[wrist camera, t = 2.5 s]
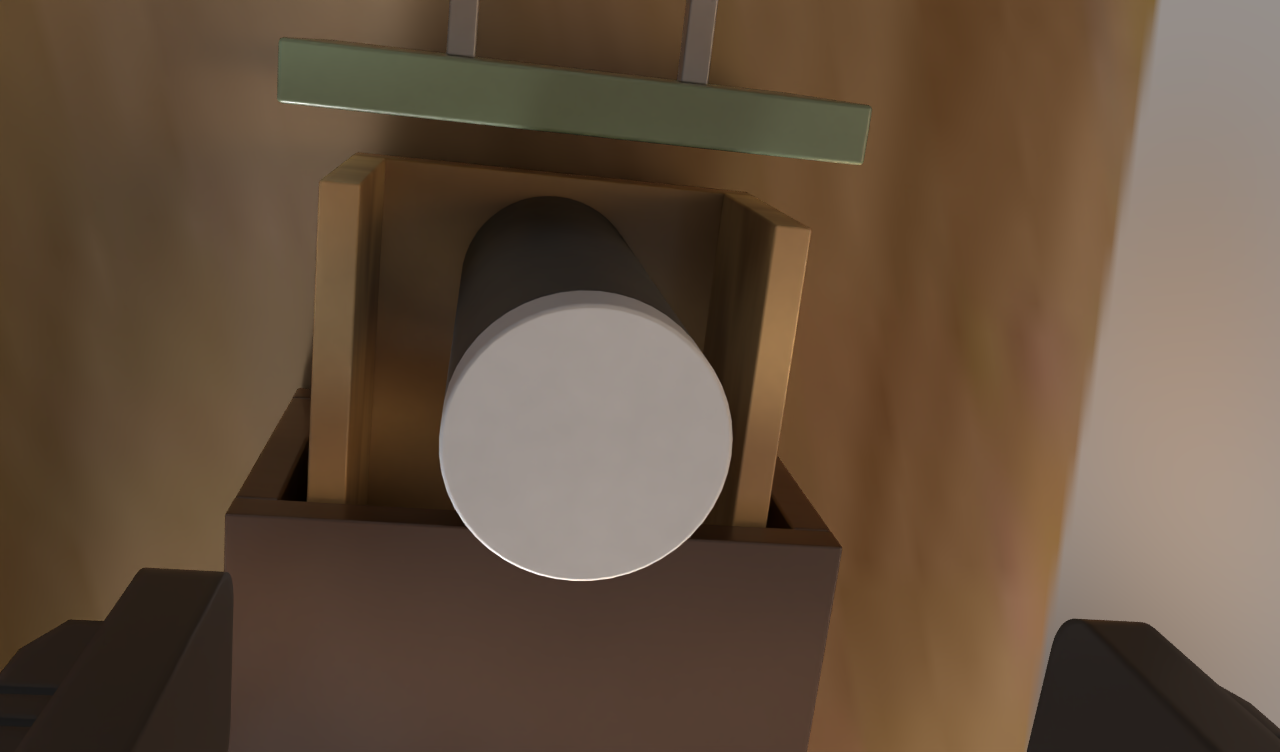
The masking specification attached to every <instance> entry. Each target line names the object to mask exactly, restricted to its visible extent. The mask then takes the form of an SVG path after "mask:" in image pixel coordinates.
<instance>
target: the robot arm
mask: <svg viewBox="0 0 1280 752" xmlns="http://www.w3.org/2000/svg"><path fill="white" fill-rule="evenodd" d="M233 597H234V595H233V582H232V578H231V575H230V573H229V572H217V571H198V570H179V569H160V568H142V569H140V570H139V571H138V573H137V574H136V575H135V577H134V578H133V580H132V581H131V583H130V584H129V585H128V587H127V588H126V590H125V591H124V593H123V594H122V596H121V597H120V599H119V600H118V601H117V603H116V604H115V606H114V607H113V609H112V610H111V612H110V613H109V615H108V616H107V617H106V619H105V620H104V621H89V620H68V621H66V622H65V623H63V624H61V625H60V626H58V627H56V628H54V629H53V630H51V631H49V632H48V633H46V634H44V635H43V636H41V637H39V638H37V639H36V640H34V641H32V642H31V643H29V644H27V645H26V646H24V647H22V648H20V649H19V650H18V651H17V653H16V654H15V655H14V657H13V658H12V659H11V660H10V662H9V663H8V664H7V665H6V667H5V668H4V669H3V670H2V672H1V673H0V752H228V747H229V738H230V721H231V682H232V642H233ZM1027 752H1280V729H1279V728H1278V727H1277V726H1276V725H1275V724H1274V723H1272V722H1271V721H1270V720H1269V719H1268V718H1266V716H1264V715H1263V714H1262V713H1261V712H1260V711H1259V710H1257V709H1256V708H1255V707H1254V706H1253V705H1252V704H1251V703H1249V702H1247V701H1245V700H1244V699H1242V698H1240V697H1238V696H1237V695H1235V694H1233V693H1231V692H1230V691H1228V690H1226V689H1224V688H1223V687H1221V686H1219V685H1218V684H1217V683H1216V682H1214V681H1213V680H1212V679H1211V678H1210V677H1209V676H1208V675H1207V674H1205V673H1204V672H1203V671H1202V670H1201V669H1200V668H1199V667H1197V666H1196V665H1195V664H1194V663H1193V662H1192V661H1191V660H1190V659H1188V658H1187V657H1186V656H1185V655H1184V654H1183V653H1182V652H1181V651H1179V650H1178V649H1177V648H1176V647H1175V646H1174V645H1173V644H1171V643H1170V642H1169V641H1168V640H1167V639H1166V638H1165V637H1164V636H1162V635H1161V634H1160V633H1159V632H1158V631H1157V630H1156V629H1155V628H1153V627H1152V626H1150V625H1148V624H1146V623H1143V622H1127V621H1107V620H1106V621H1105V620H1088V619H1070V620H1068V621H1066V622H1065V623H1064V624H1063V625H1062V626H1061V627H1060V628H1059V630H1058V632H1057V634H1056V636H1055V638H1054V641H1053V644H1052V648H1051V652H1050V656H1049V661H1048V665H1047V669H1046V673H1045V677H1044V682H1043V686H1042V690H1041V694H1040V698H1039V703H1038V707H1037V711H1036V715H1035V719H1034V724H1033V728H1032V732H1031V736H1030V740H1029V745H1028V749H1027Z"/></svg>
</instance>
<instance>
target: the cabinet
mask: <svg viewBox="0 0 1280 752" xmlns="http://www.w3.org/2000/svg"><path fill="white" fill-rule="evenodd" d="M310 406H311V389H305V388H299V389H297V391H296V393H295V395H294V396H293V398H292V400H291V402H290V404H289V405H288V407H287V409H286V411H285V412H284V414H283V416H282V418H281V419H280V421H279V423H278V425H277V426H276V428H275V430H274V432H273V433H272V435H271V437H270V439H269V440H268V442H267V444H266V446H265V447H264V449H263V451H262V453H261V454H260V456H259V458H258V460H257V461H256V463H255V465H254V467H253V468H252V470H251V472H250V474H249V475H248V477H247V479H246V481H245V482H244V484H243V486H242V488H241V489H240V491H239V493H238V495H237V496H236V498H235V499H234V501H233V502H232V504H231V506H230V507H229V509H228V511H227V513H226V515H225V551H224V572H229V573H230V575H231V578H232V582H233V595H234V597H233V642H232V682H231V721H230V738H229V747H228V752H807V748H808V742H809V737H810V731H811V725H812V719H813V714H814V708H815V702H816V696H817V691H818V685H819V679H820V673H821V668H822V662H823V656H824V650H825V645H826V639H827V633H828V628H829V622H830V616H831V610H832V605H833V599H834V593H835V587H836V582H837V576H838V570H839V564H840V559H841V553H842V547H841V545H840V544H839V542H838V541H837V540H836V538H835V537H834V535H833V534H832V532H830V531H829V529H828V527H827V526H826V524H825V523H824V522H823V520H822V519H821V517H820V516H819V514H818V513H817V512H816V510H815V509H814V507H813V506H812V504H811V503H810V502H809V500H808V499H807V497H806V496H805V494H804V493H803V492H802V490H801V489H800V487H799V486H798V484H797V483H796V482H795V480H794V479H793V477H792V476H791V474H790V473H789V472H788V470H787V469H786V467H785V466H784V464H783V463H782V462H781V460H780V459H779V457H778V456H777V458H776V465H775V471H774V478H773V484H772V491H771V497H770V504H769V510H768V517H767V523H766V528H760V527H743V526H725V525H707V524H701V525H700V526H699V527H698V528H697V529H696V531H695V532H694V533H693V534H692V535H691V536H690V537H689V538H688V539H687V540H686V541H685V542H683V543H682V544H681V545H680V546H679V547H678V548H677V549H675V550H674V551H672V552H671V553H669V554H668V555H666V556H665V557H664V558H662V559H660V560H658V561H656V562H654V563H653V564H651V565H649V566H647V567H645V568H642V569H640V570H637V571H634V572H632V573H629V574H625V575H622V576H618V577H614V578H609V579H601V580H594V581H571V580H562V579H554V578H550V577H546V576H541V575H537V574H535V573H532V572H529V571H527V570H524V569H521V568H519V567H517V566H515V565H513V564H511V563H509V562H508V561H506V560H504V559H502V558H501V557H499V556H498V555H497V554H495V553H494V552H492V551H491V550H489V549H488V548H487V547H486V546H485V545H484V544H483V543H482V542H481V541H479V540H478V539H477V538H476V537H475V536H474V535H473V533H472V532H471V531H470V530H469V529H468V527H467V526H466V525H465V524H464V522H463V521H462V519H461V518H460V516H459V514H458V513H457V511H456V510H442V509H425V508H407V507H389V506H372V505H354V504H336V503H319V502H307V484H308V458H309V432H310Z"/></svg>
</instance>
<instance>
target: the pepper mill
mask: <svg viewBox="0 0 1280 752" xmlns="http://www.w3.org/2000/svg"><path fill="white" fill-rule="evenodd" d="M732 441H733V435H732V420H731V415H730V410H729V405H728V401H727V398H726V395H725V393H724V390H723V387H722V385H721V383H720V381H719V379H718V377H717V375H716V373H715V371H714V369H713V368H712V366H711V365H710V363H709V362H708V360H707V359H706V358H705V356H704V355H703V353H702V352H701V350H700V349H699V347H698V346H697V344H696V343H695V342H694V340H693V339H692V337H691V336H690V334H689V333H688V331H687V330H686V329H685V327H684V326H683V324H682V323H681V321H680V320H679V318H678V317H677V315H676V314H675V313H674V311H673V310H672V308H671V307H670V305H669V304H668V302H667V301H666V300H665V298H664V297H663V295H662V294H661V292H660V291H659V289H658V288H657V286H656V285H655V284H654V282H653V281H652V279H651V278H650V276H649V275H648V273H647V272H646V271H645V269H644V268H643V266H642V265H641V263H640V262H639V260H638V259H637V257H636V256H635V255H634V253H633V252H632V250H631V249H630V247H629V246H628V244H627V243H626V242H625V240H624V239H623V237H622V236H621V234H620V233H619V232H618V230H617V229H616V227H615V226H614V225H613V224H612V223H611V222H610V221H609V220H608V219H607V218H606V217H604V216H603V215H602V214H601V213H599V212H598V211H596V210H595V209H593V208H591V207H590V206H588V205H585V204H583V203H581V202H579V201H575V200H572V199H569V198H563V197H557V196H542V197H533V198H529V199H524V200H521V201H518V202H516V203H513V204H511V205H509V206H507V207H505V208H503V209H501V210H500V211H499V212H497V213H496V214H494V215H493V216H492V217H491V218H490V219H489V220H488V221H486V222H485V223H484V224H483V226H482V227H481V228H480V229H479V231H478V232H477V233H476V235H475V236H474V238H473V240H472V241H471V243H470V245H469V247H468V250H467V252H466V255H465V258H464V262H463V266H462V274H461V281H460V288H459V295H458V303H457V310H456V317H455V324H454V332H453V339H452V346H451V353H450V361H449V368H448V375H447V383H446V390H445V397H444V404H443V412H442V419H441V426H440V434H439V458H440V465H441V472H442V476H443V480H444V483H445V487H446V490H447V493H448V495H449V497H450V499H451V502H452V504H453V506H454V508H455V510H456V511H457V513H458V514H459V516H460V518H461V519H462V521H463V522H464V524H465V525H466V526H467V527H468V529H469V530H470V531H471V532H472V533H473V535H474V536H475V537H476V538H477V539H478V540H479V541H481V542H482V543H483V544H484V545H485V546H486V547H487V548H488V549H489V550H491V551H492V552H494V553H495V554H497V555H498V556H499V557H501V558H502V559H504V560H506V561H508V562H509V563H511V564H513V565H515V566H517V567H519V568H521V569H524V570H527V571H529V572H532V573H535V574H537V575H541V576H546V577H550V578H554V579H562V580H571V581H594V580H601V579H609V578H614V577H618V576H622V575H625V574H629V573H632V572H634V571H637V570H640V569H642V568H645V567H647V566H649V565H651V564H653V563H654V562H656V561H658V560H660V559H662V558H664V557H665V556H666V555H668V554H669V553H671V552H672V551H674V550H675V549H677V548H678V547H679V546H680V545H681V544H682V543H683V542H685V541H686V540H687V539H688V538H689V537H690V536H691V535H692V534H693V533H694V532H695V531H696V529H697V528H698V527H699V526H700V525H701V524H702V523H703V521H704V520H705V518H706V517H707V515H708V514H709V513H710V511H711V510H712V508H713V507H714V505H715V503H716V501H717V499H718V497H719V495H720V493H721V491H722V488H723V485H724V483H725V480H726V477H727V474H728V470H729V465H730V460H731V455H732Z"/></svg>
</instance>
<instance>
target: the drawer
mask: <svg viewBox="0 0 1280 752" xmlns="http://www.w3.org/2000/svg"><path fill="white" fill-rule="evenodd" d="M479 2H480V0H450V5H449V20H448V35H447V50H446V53H440V52H432V51H423V50H414V49H406V48H397V47H389V46H380V45H372V44H363V43H354V42H346V41H337V40H324V39H306V38H287V37H283V38H280V40H279V46H278V82H277V99H278V101H279V102H281V103H286V104H295V105H305V106H314V107H323V108H333V109H342V110H351V111H360V112H370V113H379V114H388V115H398V116H407V117H416V118H425V119H435V120H444V121H453V122H463V123H472V124H481V125H490V126H500V127H509V128H518V129H527V130H537V131H546V132H555V133H565V134H574V135H583V136H592V137H602V138H611V139H620V140H630V141H639V142H648V143H657V144H667V145H676V146H685V147H695V148H704V149H713V150H722V151H732V152H741V153H750V154H760V155H769V156H778V157H787V158H797V159H806V160H815V161H825V162H834V163H843V164H852V165H861V164H862V163H863V162H864V156H865V150H866V144H867V138H868V132H869V126H870V120H871V114H872V108H871V106H869V105H863V104H857V103H850V102H843V101H837V100H830V99H824V98H817V97H810V96H804V95H797V94H791V93H783V92H775V91H766V90H757V89H749V88H740V87H732V86H723V85H715V84H708V78H709V70H710V62H711V54H712V46H713V38H714V30H715V22H716V14H717V6H718V0H686V9H685V17H684V26H683V34H682V43H681V51H680V59H679V68H678V76H677V80H672V79H663V78H655V77H646V76H637V75H629V74H620V73H612V72H603V71H595V70H586V69H577V68H569V67H560V66H552V65H543V64H535V63H526V62H517V61H509V60H500V59H492V58H483V57H475V56H476V43H477V29H478V15H479ZM542 196H557V197H563V198H569V199H572V200H575V201H579V202H581V203H583V204H585V205H588V206H590V207H591V208H593V209H595V210H596V211H598V212H599V213H601V214H602V215H603V216H604V217H606V218H607V219H608V220H609V221H610V222H611V223H612V224H613V225H614V226H615V227H616V229H617V230H618V232H619V233H620V234H621V236H622V237H623V239H624V240H625V242H626V243H627V244H628V246H629V247H630V249H631V250H632V252H633V253H634V255H635V256H636V257H637V259H638V260H639V262H640V263H641V265H642V266H643V268H644V269H645V271H646V272H647V273H648V275H649V276H650V278H651V279H652V281H653V282H654V284H655V285H656V286H657V288H658V289H659V291H660V292H661V294H662V295H663V297H664V298H665V300H666V301H667V302H668V304H669V305H670V307H671V308H672V310H673V311H674V313H675V314H676V315H677V317H678V318H679V320H680V321H681V323H682V324H683V326H684V327H685V329H686V330H687V331H688V333H689V334H690V336H691V337H692V339H693V340H694V342H695V343H696V344H697V346H698V347H699V349H700V350H701V352H702V353H703V355H704V356H705V358H706V359H707V360H708V362H709V363H710V365H711V366H712V368H713V369H714V371H715V373H716V375H717V377H718V379H719V381H720V383H721V385H722V387H723V390H724V393H725V395H726V398H727V401H728V405H729V410H730V415H731V420H732V435H733V441H732V455H731V460H730V465H729V470H728V474H727V477H726V480H725V483H724V485H723V488H722V491H721V493H720V495H719V497H718V499H717V501H716V503H715V505H714V507H713V508H712V510H711V511H710V513H709V514H708V515H707V517H706V518H705V520H704V521H703V523H702V524H707V525H725V526H743V527H760V528H766V523H767V517H768V510H769V504H770V497H771V491H772V484H773V478H774V471H775V465H776V458H777V452H778V445H779V439H780V432H781V426H782V419H783V413H784V406H785V400H786V393H787V387H788V380H789V374H790V367H791V361H792V354H793V348H794V341H795V335H796V328H797V322H798V315H799V309H800V302H801V296H802V290H803V283H804V277H805V270H806V264H807V257H808V251H809V244H810V238H811V229H810V228H808V227H807V226H805V225H803V224H801V223H800V222H798V221H796V220H794V219H793V218H791V217H789V216H787V215H785V214H784V213H782V212H780V211H778V210H777V209H775V208H773V207H771V206H770V205H768V204H766V203H764V202H763V201H761V200H759V199H757V198H755V197H754V196H752V195H750V194H748V193H747V192H740V191H730V190H721V189H711V188H701V187H691V186H681V185H672V184H662V183H652V182H642V181H633V180H623V179H613V178H603V177H594V176H584V175H574V174H564V173H555V172H545V171H535V170H525V169H515V168H506V167H496V166H486V165H476V164H467V163H457V162H447V161H437V160H428V159H418V158H408V157H398V156H388V155H379V154H369V153H359V152H358V153H356V154H354V155H353V156H351V157H350V158H349V159H348V160H346V161H345V162H344V163H342V164H341V165H340V166H338V167H337V168H336V169H335V170H333V171H332V172H331V173H329V174H328V175H327V176H325V177H324V178H323V179H321V180H320V182H319V198H318V224H317V250H316V276H315V302H314V328H313V354H312V380H311V406H310V432H309V458H308V484H307V502H319V503H336V504H354V505H372V506H389V507H407V508H425V509H442V510H455V508H454V506H453V504H452V502H451V499H450V497H449V495H448V493H447V490H446V487H445V483H444V480H443V476H442V472H441V465H440V458H439V434H440V426H441V419H442V412H443V404H444V397H445V390H446V383H447V375H448V368H449V361H450V353H451V346H452V339H453V332H454V324H455V317H456V310H457V303H458V295H459V288H460V281H461V274H462V266H463V262H464V258H465V255H466V252H467V250H468V247H469V245H470V243H471V241H472V240H473V238H474V236H475V235H476V233H477V232H478V231H479V229H480V228H481V227H482V226H483V224H484V223H485V222H486V221H488V220H489V219H490V218H491V217H492V216H493V215H494V214H496V213H497V212H499V211H500V210H501V209H503V208H505V207H507V206H509V205H511V204H513V203H516V202H518V201H521V200H524V199H529V198H533V197H542Z"/></svg>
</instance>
